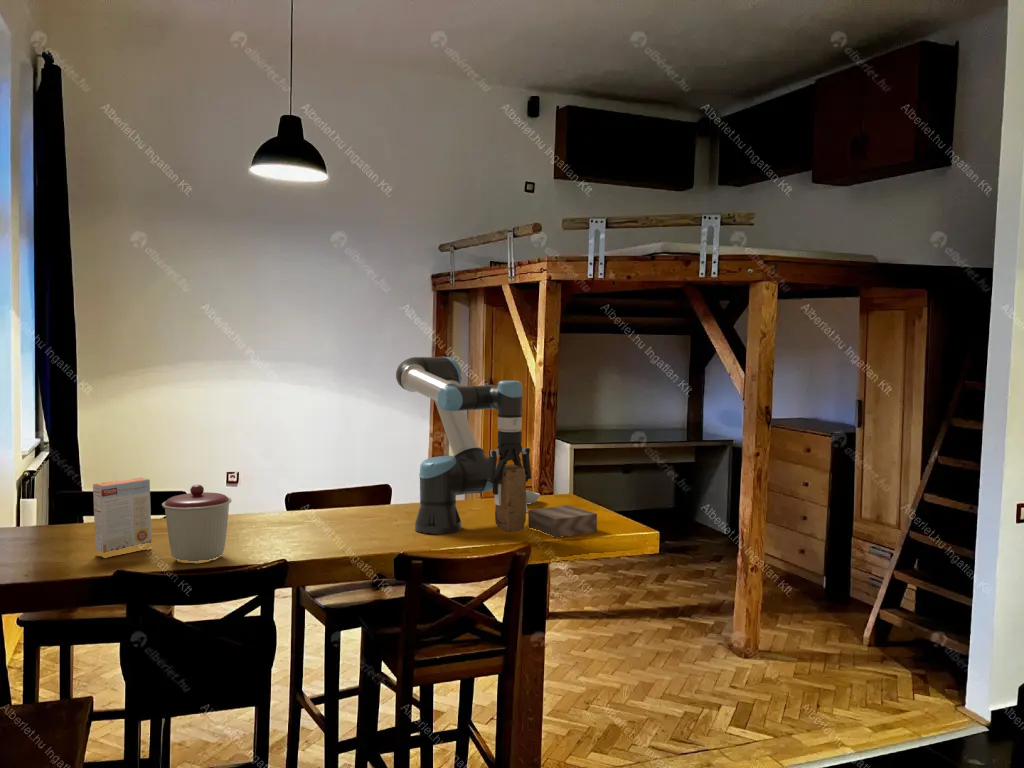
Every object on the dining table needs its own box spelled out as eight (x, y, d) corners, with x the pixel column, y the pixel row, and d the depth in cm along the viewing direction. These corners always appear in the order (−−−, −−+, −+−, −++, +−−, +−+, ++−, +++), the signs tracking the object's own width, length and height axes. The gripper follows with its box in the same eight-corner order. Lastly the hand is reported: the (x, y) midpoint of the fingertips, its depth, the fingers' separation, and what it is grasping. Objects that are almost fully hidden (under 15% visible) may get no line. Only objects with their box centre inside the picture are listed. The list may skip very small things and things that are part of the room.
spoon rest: (510, 500, 314) (510, 482, 314) (540, 501, 313) (540, 482, 313) (505, 513, 291) (505, 493, 290) (538, 513, 290) (538, 494, 289)
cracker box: (142, 546, 241) (141, 476, 240) (152, 549, 237) (151, 478, 236) (94, 555, 230) (92, 483, 229) (103, 559, 226) (101, 485, 225)
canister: (226, 548, 239) (225, 477, 238) (237, 563, 223) (236, 487, 222) (160, 556, 230) (158, 482, 229) (166, 572, 214) (164, 493, 213)
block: (527, 531, 250) (528, 467, 249) (506, 534, 246) (506, 469, 245) (512, 524, 260) (512, 462, 258) (490, 526, 256) (491, 463, 255)
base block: (555, 538, 252) (556, 519, 252) (528, 528, 266) (528, 510, 265) (596, 532, 260) (597, 513, 260) (568, 522, 274) (568, 505, 274)
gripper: (487, 433, 243) (486, 508, 244) (543, 429, 253) (543, 502, 255) (475, 430, 249) (474, 504, 250) (530, 427, 260) (530, 498, 261)
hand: (509, 503), depth 252 cm, fingers closed on block, 7 cm apart
